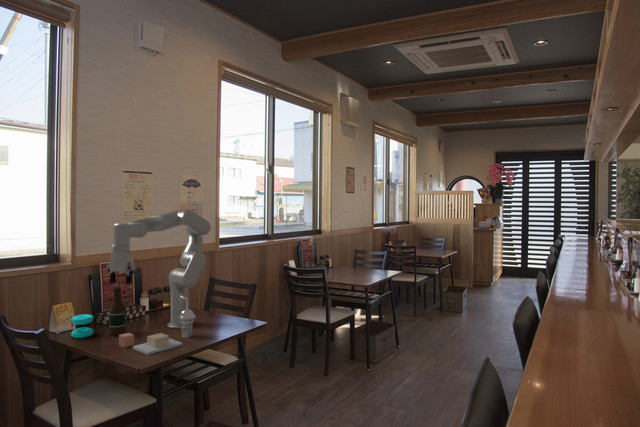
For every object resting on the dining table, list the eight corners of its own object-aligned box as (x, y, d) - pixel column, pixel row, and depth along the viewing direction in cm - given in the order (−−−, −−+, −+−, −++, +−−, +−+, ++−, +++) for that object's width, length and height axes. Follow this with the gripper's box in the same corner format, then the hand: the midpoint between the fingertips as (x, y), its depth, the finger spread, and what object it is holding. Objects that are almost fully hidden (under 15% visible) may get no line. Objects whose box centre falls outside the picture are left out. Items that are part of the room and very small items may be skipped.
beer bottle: (128, 332, 236) (128, 286, 235) (117, 336, 229) (117, 289, 228) (117, 331, 238) (116, 285, 238) (105, 335, 231) (105, 288, 231)
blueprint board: (167, 340, 224) (167, 329, 224) (182, 345, 216) (182, 334, 216) (132, 348, 210) (132, 337, 210) (147, 354, 202) (147, 343, 202)
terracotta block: (128, 342, 219) (128, 332, 219) (134, 345, 216) (134, 334, 216) (118, 345, 215) (118, 334, 215) (124, 347, 212) (124, 336, 212)
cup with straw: (179, 339, 225) (179, 299, 224) (176, 334, 233) (176, 296, 232) (197, 337, 229) (197, 297, 228) (193, 332, 237) (193, 294, 236)
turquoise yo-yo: (89, 312, 237) (96, 316, 230) (89, 331, 237) (96, 335, 230) (68, 316, 229) (75, 319, 223) (68, 335, 230) (75, 340, 223)
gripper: (101, 248, 223) (100, 282, 223) (130, 249, 218) (129, 285, 218) (113, 246, 230) (112, 280, 230) (141, 248, 225) (140, 283, 225)
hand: (120, 282), depth 224 cm, fingers open, 9 cm apart
